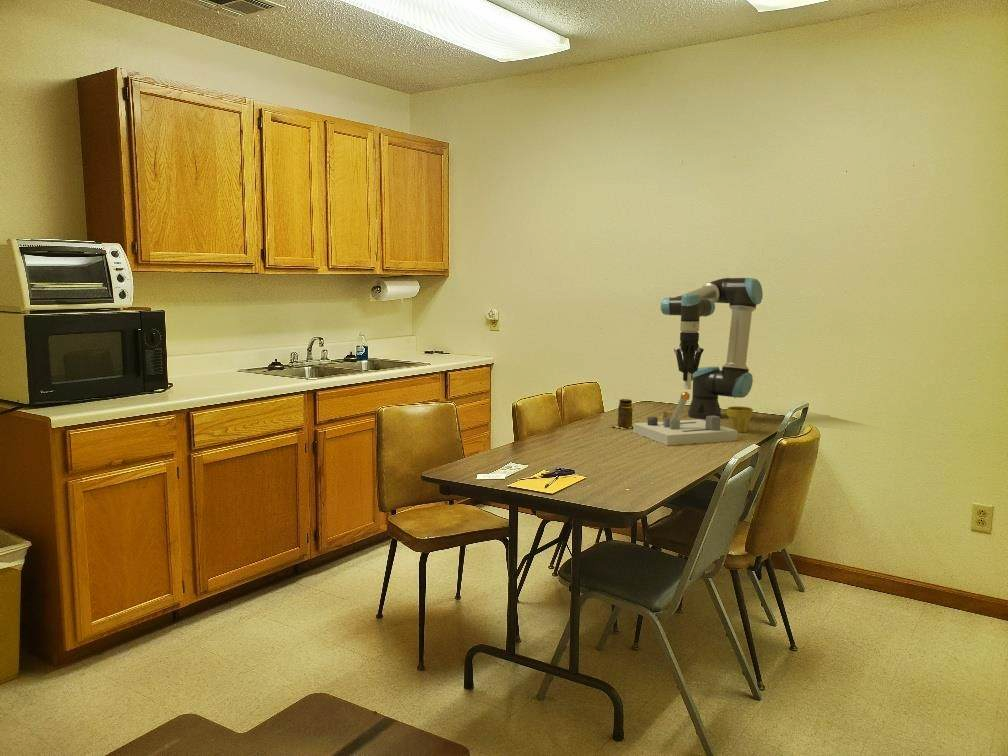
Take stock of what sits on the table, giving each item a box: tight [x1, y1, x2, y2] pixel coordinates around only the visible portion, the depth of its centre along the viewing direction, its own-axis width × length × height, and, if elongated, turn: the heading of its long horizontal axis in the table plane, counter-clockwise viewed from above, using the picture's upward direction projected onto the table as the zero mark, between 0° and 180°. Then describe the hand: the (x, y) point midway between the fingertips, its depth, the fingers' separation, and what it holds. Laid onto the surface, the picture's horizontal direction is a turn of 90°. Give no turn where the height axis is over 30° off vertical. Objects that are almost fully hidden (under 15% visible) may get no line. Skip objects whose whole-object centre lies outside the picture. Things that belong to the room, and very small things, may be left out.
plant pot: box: [726, 406, 754, 433], centre depth 326 cm, size 10×10×10 cm
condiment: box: [617, 398, 634, 428], centre depth 331 cm, size 7×8×12 cm
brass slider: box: [662, 410, 674, 423], centre depth 318 cm, size 4×4×5 cm
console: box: [632, 416, 738, 446], centre depth 313 cm, size 32×26×8 cm
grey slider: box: [705, 415, 722, 430], centre depth 308 cm, size 4×4×5 cm
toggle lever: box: [669, 391, 691, 423], centre depth 311 cm, size 4×4×14 cm
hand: (687, 388), depth 319 cm, fingers closed
